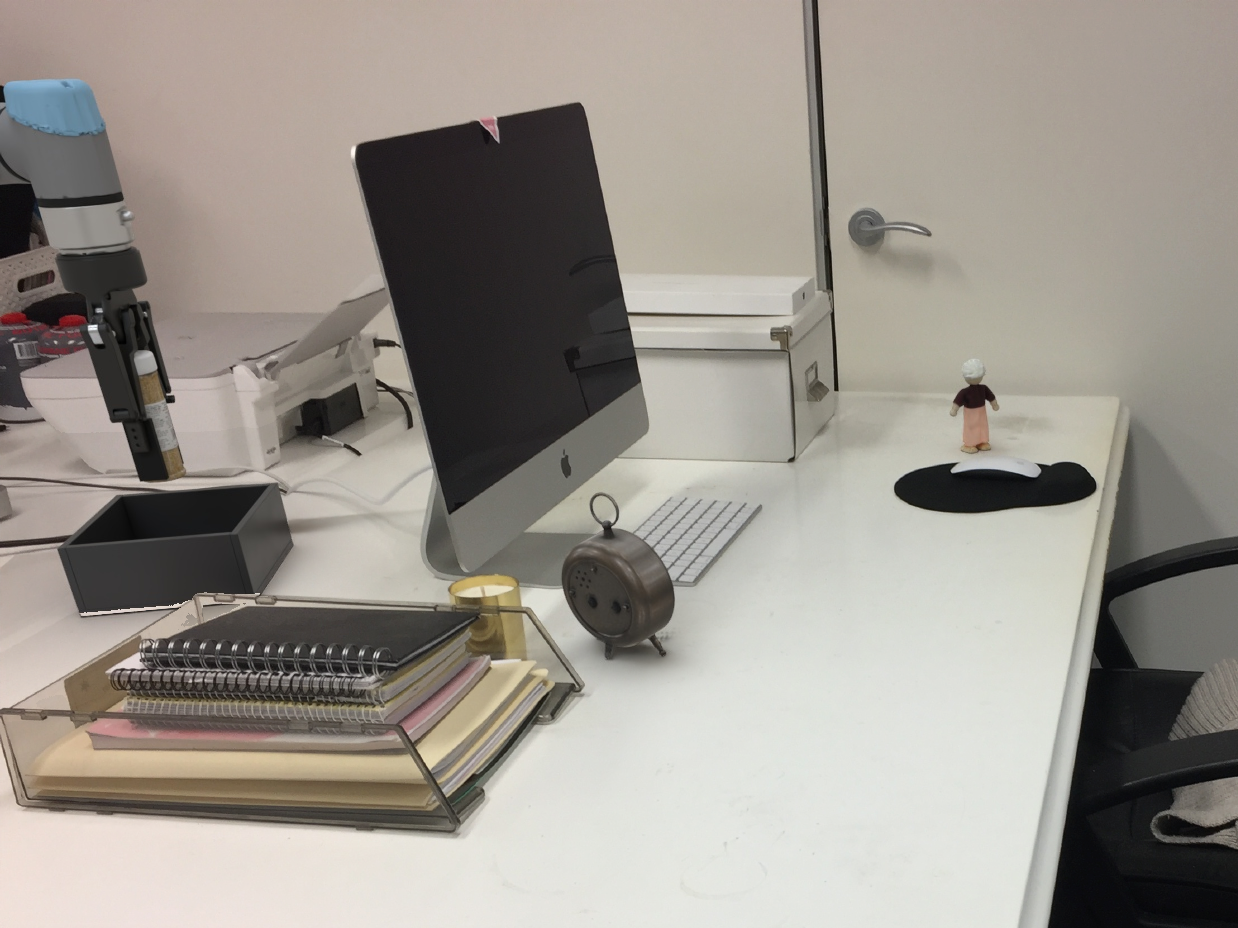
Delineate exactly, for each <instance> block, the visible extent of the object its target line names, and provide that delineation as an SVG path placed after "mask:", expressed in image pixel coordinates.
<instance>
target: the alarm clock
mask: <svg viewBox="0 0 1238 928" xmlns="http://www.w3.org/2000/svg"><path fill="white" fill-rule="evenodd" d="M597 497H605V498H607V499H608V500H609V501H610V502H611V504H612V505H613V507H614V509H615V519H614V521H613V522H612V521H611V520H609V519H606V520H604V521H601V520H600V519H599V518H598V517H597V515H596V513H595V511H594V501H595V500H596V498H597ZM589 511H590V513H591V516H592V517H593V519H594V520H595V522H597V523H598V524H599V525H601V528H602V529H603V530H600V531H599V532H597V533H596V534H594V535H592V536H590V537H588V538H587V539H585V540H583V541H580V542H579V543H578V544H576V545H574V546H573V547H572V548H570V550H569V552H567V554H566V555H565V558H564V560H563V563H562V568H561V586H562V591H563V594H564V598H565V601H566V603H567V605H568V607H569V609H570V611H571V613H572V614H573V616H574V617H575V619H576V620H577V621H578V622H579V624H580V625H581V626H582V627H583V628H584V630H585V631H587V632H588V633H589V634H590V635H592V636H593V637H594V638H595V639H597V640H599V641H600V642H602V643H603V644H605V645H604V654H603V655H604V658H605V659H606V660H609V659H610V658H611V653H612V649H613V647H616V648H632V647H634V646H636V645H637V646H638V645H639V644H641V643H642V642H644V641H645V640H649V642H650V643H651V644H652V645H653V647H654V648H655V649H656V650H657V651H658V654H659V656H660V655H664V656H666V655H667V651H666V650H664V648H663V646H662V642H661V641H660V640H659V639H658V637H657V635H656V633H658V632H659V631H661V630H663V629H664V628H665V627H667V625H668V624H669V623H670V622H671V620H672V618H673V615H674V611H675V606H676V594H675V588H674V584H673V580H672V578H671V575H670V572H669V570H668V568H667V566H666V564H665V563H664V561H663V559H662V558H661V557H660V556H659V554H658V553H657V552H656V550H655V549H654V548H653V547H652V546H651V545H650V544H649V543H647V541H645V540H644V539H643V538H641V537H640V536H639V535H637V534H635V533H633V532H631V531H629V530H626V529H624V528H623V529H622V528H618V527H614V526H615V525H616V524H617V522H618V521H619V520H620V508H619V505H618V503H617V501H616V500H615V499H614V497H613V496H611V495H610V494H609V493H606V492H603V491H599V492H595V493H594V494H593V495H592V496H591V498H590V500H589Z"/></svg>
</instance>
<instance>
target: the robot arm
mask: <svg viewBox="0 0 1238 928" xmlns="http://www.w3.org/2000/svg"><path fill="white" fill-rule="evenodd" d="M3 96H4V101H5V102H0V186H2V185H14V184H23V185H26V184H31V187H32V190H33V193H34V196H35V198H36V202H37V206H38V210H39V213H40V216H41V221H42V223H43V227H44V230H45V234H46V237H47V240H48V244H49V247H51V248H52V249H54V250H58V253H56V256H55V257H54V261H55V264H56V267H57V271H58V273H59V277H60V280H61V283H62V287H63V289H64V291H66V292H67V293H70V294H73V295H74V294H75V295H79V294H80V295H82V296H84V297H85V303H86V309H87V310H86V311H87V315H86V316H87V320H88V321H87V322H88V324H80V325H79V333H80V336H81V337H82V340H83V342H84V344H85V345H86V348H87V350H88V353H89V357H90V360H91V362H92V366H93V370H94V372H95V375H96V378H97V383H98V385H99V387H100V391H101V395H102V398H103V401H104V405H105V407H106V410H107V414H108V419H109V421H110V423H112V424H119V423H120V424H121V425H122V428H123V431H124V434H125V438H126V440H127V444H128V448H129V451H130V454H131V458H132V461H133V464H134V467H135V471H136V473H137V476H138V480H139V482H142V483H143V482H144V481H156V480H167V479H168V478H169V475H168V471H167V468H166V465H165V461H164V458H163V455H162V451H161V448H160V444H159V441H158V438H157V434H156V431H155V427H154V424H153V421H152V418H147V414H146V410H145V405H144V401H143V396H142V391H141V386H140V381H139V376H138V372H137V369H136V365H135V362H134V354H135V353H136V352H137V351H138V350H147V351H151V352H152V353H153V355H154V358H155V361H156V364H157V372H158V373H157V375H158V378H159V382H160V385H161V389H162V392H163V396H164V398H165V400H166V404H167V407H168V404H175V403H176V396H175V394H172V386H171V383H170V379H169V376H168V372H167V369H166V366H165V365H166V364H165V361H164V357H163V355H162V354H163V353H162V350H161V347H160V344H159V341H158V336H157V333H156V330H155V326H154V322H153V315H152V308H151V304H150V302H149V301H148V300H138V298H137V296H136V294H135V292H134V289H139V288H141V287H143V286H145V285H146V284H147V283H148V276H147V271H146V269H145V268H146V267H145V266H144V262H143V258H142V255H141V251H140V249H138V248H137V247H136V246H132V245H131V243H133V242H134V241H135V240H136V236H135V233H134V228H133V224H132V222H133V221H134V220H135V214H134V212H133V211H131V210H128V207H127V204H126V200H125V197H124V193H123V188H122V185H121V181H120V177H119V173H118V170H117V165H116V162H115V158H114V155H113V151H112V147H111V143H110V140H109V135H108V132H107V124H106V121H105V119H104V118H103V117H102V114H101V112H100V109H99V105H98V103H97V100H96V97H95V94H94V91H93V89H92V87H91V85H90V84H89V83H87V82H86V81H84V80H82V79H79V78H62V79H61V78H60V79H58V78H52V79H51V78H50V79H32V80H31V79H30V80H29V79H28V80H27V79H26V80H14V81H8V82H7V83H6V84H4V86H3ZM169 394H170V395H169ZM168 408H169V407H168ZM168 411H169V414H170V415H171V413H170V410H169V409H168ZM170 418H171V421H172V422H173V420H172V417H171V416H170ZM172 425H173V428H174V432H175V435H176V431H175V427H174V424H173V423H172ZM176 439H177V442H178V449H179V453H180V456H181V459H182V463H183V465H185V461H184V459H183V455H182V451H181V448H180V444H179V441H178V438H177V435H176Z"/></svg>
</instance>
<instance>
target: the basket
mask: <svg viewBox="0 0 1238 928" xmlns="http://www.w3.org/2000/svg"><path fill="white" fill-rule="evenodd" d="M283 501H284V500H283V497H282V494H281V489H280V486H279V483H278V482H267V483H266V482H265V483H255V484H254V483H253V484H242V485H241V484H240V485H226V486H215V487H213V486H212V487H202V488H189V489H176V490H164V491H163V490H162V491H151V492H136V493H124V494H115V495H114V497H112V499H110V500H109V501H108V502H107V503H106V504H104V506H103V507H101V509H99V510H98V511H97V512H96V513H95V514H93V516H91V518H89V519H88V520H87V521H85V523H84V524H83V525H82V526H81V527H79V528H78V529H77V530H76V531H75V532H73V534H72V535H71V536H69V537H68V538H67V539H66V540H65V541H64V542H63V543H62V544H61V545H59V546H58V547H57V548H56V549H57V553H58V556H59V558H60V561H61V565H62V567H63V571H64V573H65V577H66V580H67V583H68V585H69V588H70V591H71V594H72V596H73V599H74V602H75V605H76V608H77V611H78V614H79V613H84V612H86V613H87V612H98V611H111V610H118V609H120V610H121V609H130V608H144V607H156V606H169V605H170V606H171V605H172V606H173V605H174V604H177V603H179V604H182V603H183V602H185V601H188V600H192V598H193V596H194V595H195V594H197V593H204V592H207V593H224V594H255V593H261V594H262V593H264V591H265V589H266V587H267V586H268V584H269V583H270V581H271V580H272V579H273V577H274V575H275V574H276V572H277V571H278V569H279V567H280V566H281V565H282V564H283V562H284V560H285V559H286V557H287V556H288V554H289V553H290V551H291V550H292V548H293V546H294V545H295V544H294V540H293V537H292V532H291V529H290V524H289V521H288V516H287V513H286V510H285V505H284V502H283ZM266 585H267V586H266Z"/></svg>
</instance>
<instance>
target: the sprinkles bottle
mask: <svg viewBox="0 0 1238 928" xmlns="http://www.w3.org/2000/svg"><path fill="white" fill-rule="evenodd" d="M134 362H135V365H136V369H137V372H138V376H139V381H140V386H141V391H142V396H143V401H144V405H145V410H146V414H147V418H152V421H153V424H154V427H155V431H156V434H157V438H158V441H159V444H160V448H161V451H162V455H163V458H164V461H165V465H166V468H167V471H168V475H169V478H168V479H167V480H156V481H143V482H144V483H148V484H153V483H157V484H158V483H167V482H172V481H176V480H179V479H181V478H182V477H185V476H186V474H187V469H186V468H185V466H184V464H183V463H182V459H181V456H180V453H179V449H178V444H179V441H178V438H177V439H176V437H177V435H175V434H176V431H175V432H174V430H175V427H174V424H173V420H172V417H171V413H170V410H169V407H167V406H168V404H166V400H165V398H164V396H163V392H162V389H161V385H160V382H159V378H158V375H157V373H158V372H157V364H156V361H155V358H154V355H153V353H152V352H151V351H147V350H138V351H137V352H136V353H135V354H134ZM168 410H169V411H168ZM169 413H170V414H169ZM170 417H171V418H170ZM171 420H172V421H171ZM172 424H173V425H172ZM173 427H174V428H173ZM177 441H178V442H177Z"/></svg>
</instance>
